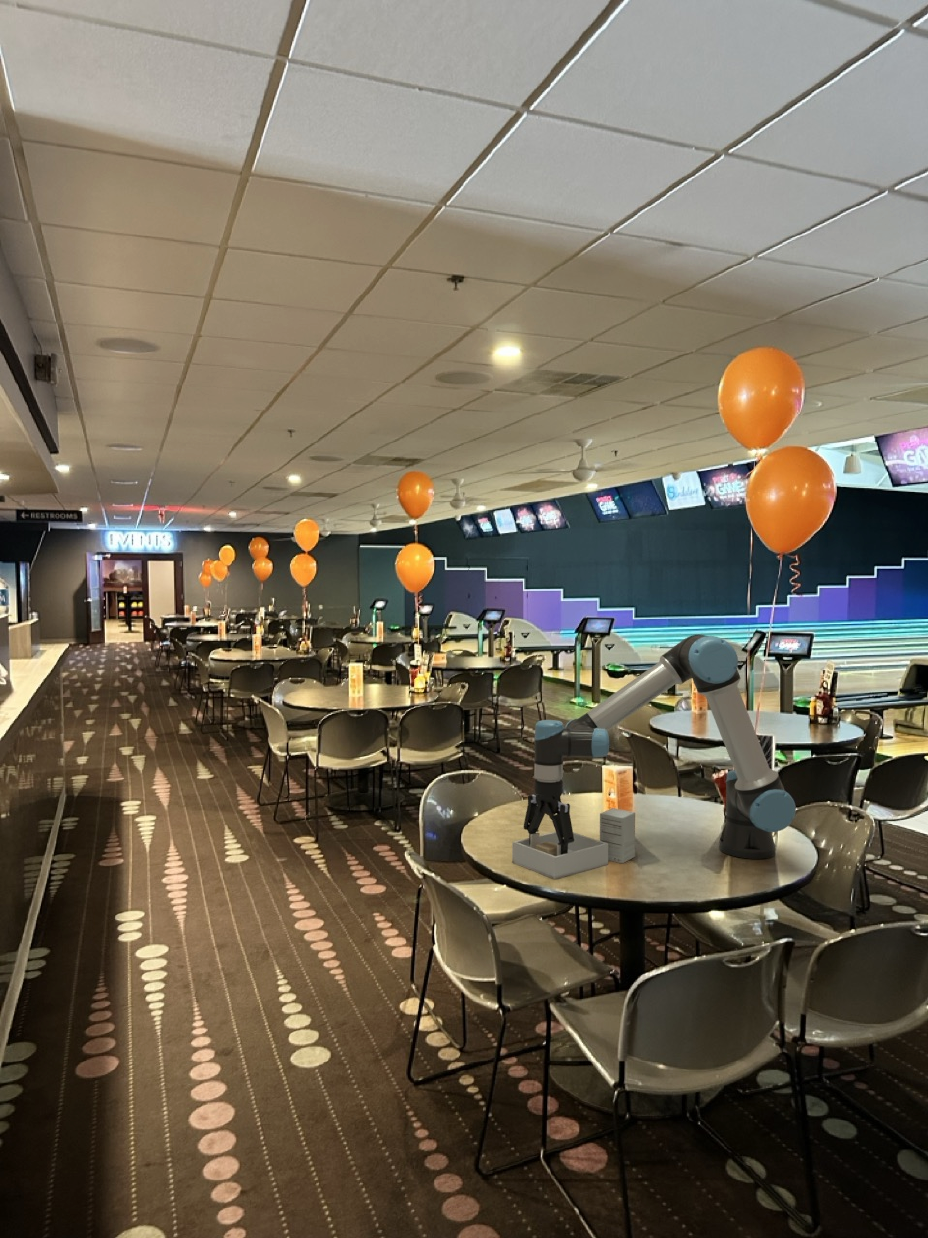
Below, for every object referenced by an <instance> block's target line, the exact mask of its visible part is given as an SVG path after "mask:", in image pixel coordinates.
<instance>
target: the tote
mask: <svg viewBox="0 0 928 1238" xmlns="http://www.w3.org/2000/svg"><path fill="white" fill-rule="evenodd" d="M573 836H574V842H571V843H568V853H566V854H563V855H559V856H553V855H550V854H548V853H545V852H542V851H539V850H537V849H534V848H531V847H530V844H529V837H527V838H523V839H519V840H516V841H514V840H513V841H512V846H511V848H512V853H511V855H512V861H511V863H512V864H515V865H518V866H521V867H523V868H524V869H528V870H530V871H532V872H535V873H538V874H539V875H542V876H545V877H548V878H549V879H550V878H551V879H553V880H559V879H562V878H565V877H570V876H572V875H577V874H579V873H583V872H586V871H589V870H593V869H596V868H600V867H604V866H608V865H609V860H608V843H605V842H602V841H600V840H598V839H594V838H591V837H588V836H586V835H583V834H579V833H577V832H574V831H573ZM563 839H564V837H563ZM546 842H552V843H554V844H558V843H559V840H558V837H557V834H556V831H553V832H548V833H545V834H540V844H542V843H546Z"/></svg>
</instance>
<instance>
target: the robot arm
mask: <svg viewBox="0 0 928 1238" xmlns="http://www.w3.org/2000/svg"><path fill="white" fill-rule="evenodd" d="M738 664H739V659H738V654H737V652H736V650H735V648H734V647H733V645H731V644H730V643H729V642H728V641H727V640H725V639H724V638H721V637H718V636H714V635H705V634H693V635H690V636H687V637H685V638H684V639H682V640H681V641H680V642H678V643H677V644H675V645H674V646H673V647H672V648H670V649H669V650H668V651H666V652H665V653H664V654H662V655H660V657H659V661H658V662H657V663H655V664H654V665H652V666H651V667H650V668H648V669H647V670H645V671H644V672H643V673H641V674H640V675H639V676H637V677H635V678H633V680H632V681H630V682H629V683H627V684H626V685H624V686H623V687H621V688H620V689H618V690H617V691H616V692H614V693H612V694H611V695H610V696H609V697H607V698H605V699H604V700H602V701H601V702H600V703H599V704H597V705H596V706H594V707H593V708H592V709H590V710H588V711H587V712H586V713H585V714H582V715H581V716H579V718H574V719H571V720H569V721H567V723H566V725H565V726H564V722H562V721H561V720H558V719H557V720H556V719H554V720H553V719H543V720H539V721H537V722H536V724H535V725H534V726H535V727H534V728H535V729H534V765H533V766H534V769H533V770H534V775H533V777H534V778H535V779H534V786H533V787H534V789H533V791H534V794H529V795H527V807H526V813H525V818H524V822H523V829H524V830H527V832H528V834H529V835H528V838H529V844H530V847H531V848H534V849H535V845H538V844H540V835H541V834H540V832H539V828H540V826H541V823H542V821H543V820H544V817H545V814H546V816H548V817H549V819H550V820H551V823H552V824H553V827H554V830H555V831H554V832H556V834H557V837H558V840H559V843H558V844H557V856H559V855H563V854H566V853H568V843H571V842H574V836H573V832H574V830H573V825H572V820H571V814H570V813H571V810H570V809H571V805H570V803H564V802H562V799H561V796H562V794H563V792H564V791H563V789H564V785H563V784H564V782H563V780H562V778H564V776H563V775H564V773H563V772H564V769H563V768H564V758H594V759H596V758H603V757H607V756H608V754H609V752H610V737H609V736H610V735H609V731H610V730H611V729H613V728H614V727H615V726H617V725H619V724H621V722H622V721H625V720H626V719H627V718H629V717H630V716H631V715H633V714H635V713H636V712H637V711H639V710H640V709H642V708H643V707H645V706H646V705H648V704H649V703H650V702H652V701H653V700H654V699H656V698H658V697H659V696H661V695H662V694H664V692H666V691H668V690H669V689H670V688H672V687H673V686H674V685H680V686H682V684H684V683H685V682H687V681H689V680H691V679H692V682H693V684H694V686H695V689H696V691H697V694H699V695H702V696H704V697H705V698H706V700H707V704H708V706H709V708H710V711H711V714H712V716H713V719H714V721H715V724H716V726H717V729H718V732H719V733H720V736H721V739H722V741H723V743H724V746H725V750H726V752H727V755H728V757H729V759H730V762H731V765H732V767H733V769H731V770H728V772H727V773H726V780H725V784H726V785H725V786H726V787H725V789H726V790H725V793H726V794H725V823H724V826H723V829H722V832H721V834H720V836H719V837H720V838H719V841H718V849H719V851H720V852H722V853H724V854H726V855H729V856H733V857H737V858H742V859H751V860H760V859H761V860H762V859H763V860H764V859H770V858H772V857H774V856H775V855H776V843H775V841H774V837H773V834H772V833H777V832H780V831H783V830H784V829H787V827H789V826H791V824H792V822H793V820H794V818H795V816H796V811H797V808H796V807H797V806H796V803H795V800H794V798H793V797H792V795H791V794H790V793H789V792H787V791H786V790H785V787H784V785H783V783H782V780H781V778H780V776H779V773H778V772H777V771H776V770H774V769H771V768H770V765H769V764H768V761H767V758H766V755H765V752H764V750H763V748H762V746H761V743H760V740H759V738H758V737H759V736H758V735H757V733H756V730H755V728H754V725H753V723H752V720H751V718H750V715H749V712H748V710H747V707H746V703H745V702H744V699H743V697H742V694H741V691H740V690H739V687H738V685H739V683H740V681H741V679H742V678H741V675H740V673H739V670H738V666H739V665H738ZM563 837H564V839H563Z"/></svg>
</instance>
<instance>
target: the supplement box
mask: <svg viewBox="0 0 928 1238" xmlns="http://www.w3.org/2000/svg"><path fill="white" fill-rule="evenodd" d="M599 841H602V842H605V843H608V861H611V862H613V863H614V862H615V863H618V864H624V863H626V862H628V861H630V860H631V859H633V858H635V857H636V812H635V811H630V810H625V809H620V808H615V807H614V808H613V807H612V808H609V809H607V810H605V811H602V812H600V813H599Z"/></svg>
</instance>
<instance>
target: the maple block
mask: <svg viewBox="0 0 928 1238" xmlns="http://www.w3.org/2000/svg"><path fill="white" fill-rule="evenodd" d="M535 849H537V850H539V851H542V852H545V853H548V854H550V855H553V856H557V844H554V843H552V842H546V843H542V844H538V845H535Z"/></svg>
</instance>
